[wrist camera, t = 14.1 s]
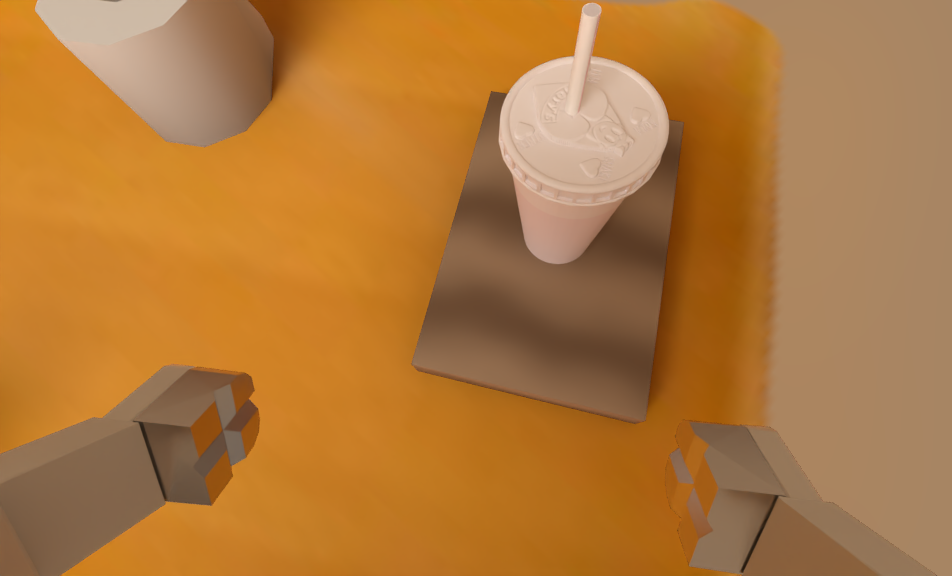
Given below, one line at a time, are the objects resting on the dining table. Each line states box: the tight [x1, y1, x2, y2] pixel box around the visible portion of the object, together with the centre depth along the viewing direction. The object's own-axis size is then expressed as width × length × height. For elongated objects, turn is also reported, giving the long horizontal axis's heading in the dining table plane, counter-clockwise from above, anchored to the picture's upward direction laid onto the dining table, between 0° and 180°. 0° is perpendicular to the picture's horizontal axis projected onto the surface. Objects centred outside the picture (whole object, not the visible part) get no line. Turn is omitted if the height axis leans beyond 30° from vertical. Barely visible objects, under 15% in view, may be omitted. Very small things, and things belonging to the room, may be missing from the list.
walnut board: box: [412, 91, 684, 424], centre depth 28 cm, size 18×12×2 cm, turn 166°
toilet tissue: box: [35, 0, 274, 147], centre depth 31 cm, size 9×13×9 cm
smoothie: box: [499, 3, 669, 264], centre depth 20 cm, size 6×6×14 cm
